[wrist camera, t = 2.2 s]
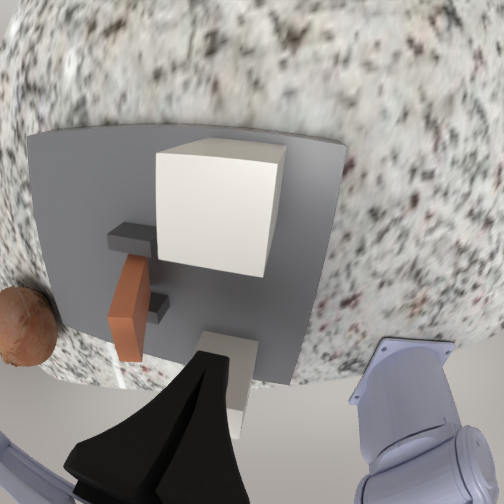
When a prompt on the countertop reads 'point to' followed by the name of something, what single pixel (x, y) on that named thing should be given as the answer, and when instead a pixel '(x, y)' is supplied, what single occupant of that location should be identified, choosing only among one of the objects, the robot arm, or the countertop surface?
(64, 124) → the countertop surface
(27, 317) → the onion
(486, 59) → the countertop surface
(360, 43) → the countertop surface
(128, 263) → the bar
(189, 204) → the near plug
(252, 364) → the far plug
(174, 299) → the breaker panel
